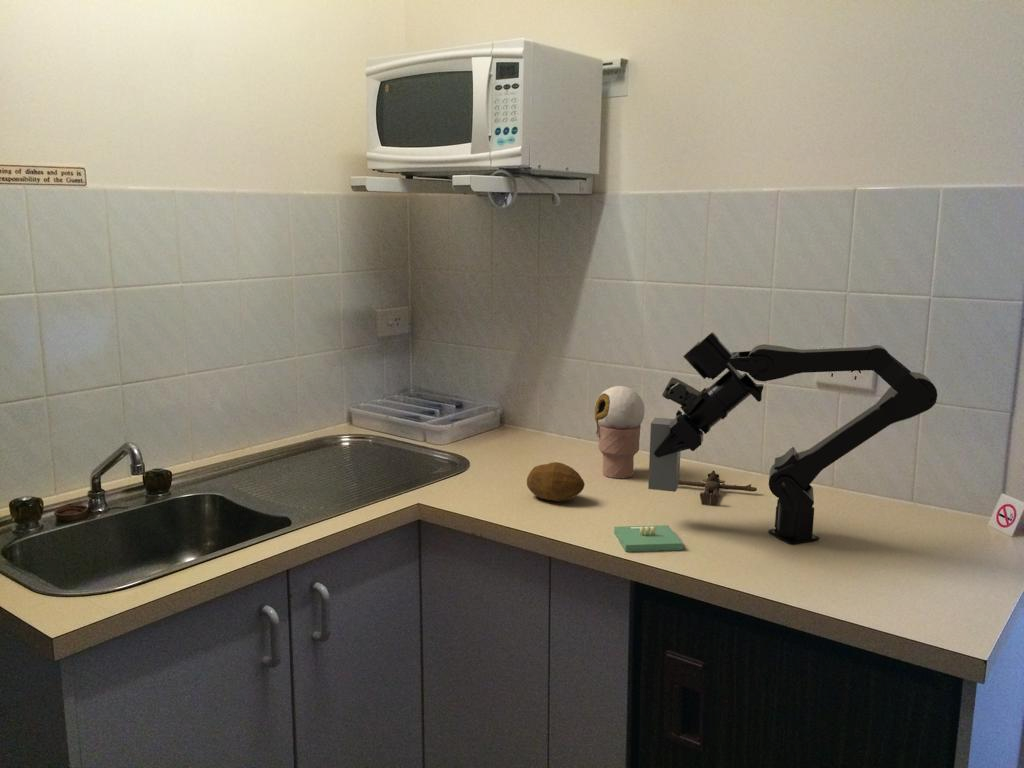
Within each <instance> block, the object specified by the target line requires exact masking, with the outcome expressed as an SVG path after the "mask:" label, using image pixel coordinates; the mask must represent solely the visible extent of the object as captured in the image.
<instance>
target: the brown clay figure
mask: <svg viewBox="0 0 1024 768" xmlns="http://www.w3.org/2000/svg"><path fill="white" fill-rule="evenodd" d="M678 486H691V487H692V486H693V487H699V488H704V491H703V492H702V491H701V492H699V498H700V503H701V505H704V506H707V505H708V501H709V500H710V506H713V507H716V506H717V505H718V500H719V498H720V496H719V495H720V494H719V493H720V490H726V491H728V490H732V491H733V490H734V491H745V492H752V493H753V492H757V490H758V489H757V487H756V486H755V487H753V486H752V484H748V485H737V484H726V481H725V480H722V479H720V475H719V474H718V473H716V472H715V470H712V471H711V472H710V473H708V474H707V478H706V479H705V478H704V479H702V482H700V481H690V480H682V479H680V478H679V485H678Z"/></svg>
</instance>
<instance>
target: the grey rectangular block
mask: <svg viewBox="0 0 1024 768" xmlns="http://www.w3.org/2000/svg"><path fill="white" fill-rule="evenodd" d="M673 419H674V418H669V417H668V418H666V417H654V418H653V420H652V421H651V423H650V433H649V434H650V436H649V437H650V438H649V439H650V440H649V462H648V465H649V466H648V487H647V489H648V490H653V491H654V490H656V491H662V492H663V491H665V492H673V493H675V492H676V491H677V490H678V487H679V486H680V485H679V479H680V468H681V452H682V451H679V452H676V453H672V454H668V455H665V456H662V457H656V456H655V455H654V452H655V451H656V450H657V448H658V447H659V446H660V445H661V443H662V442H663V441H664V440H665V438H666V437H667V436H668V435H669V433H670V426H669V424H670V422H671V421H672V420H673Z"/></svg>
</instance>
